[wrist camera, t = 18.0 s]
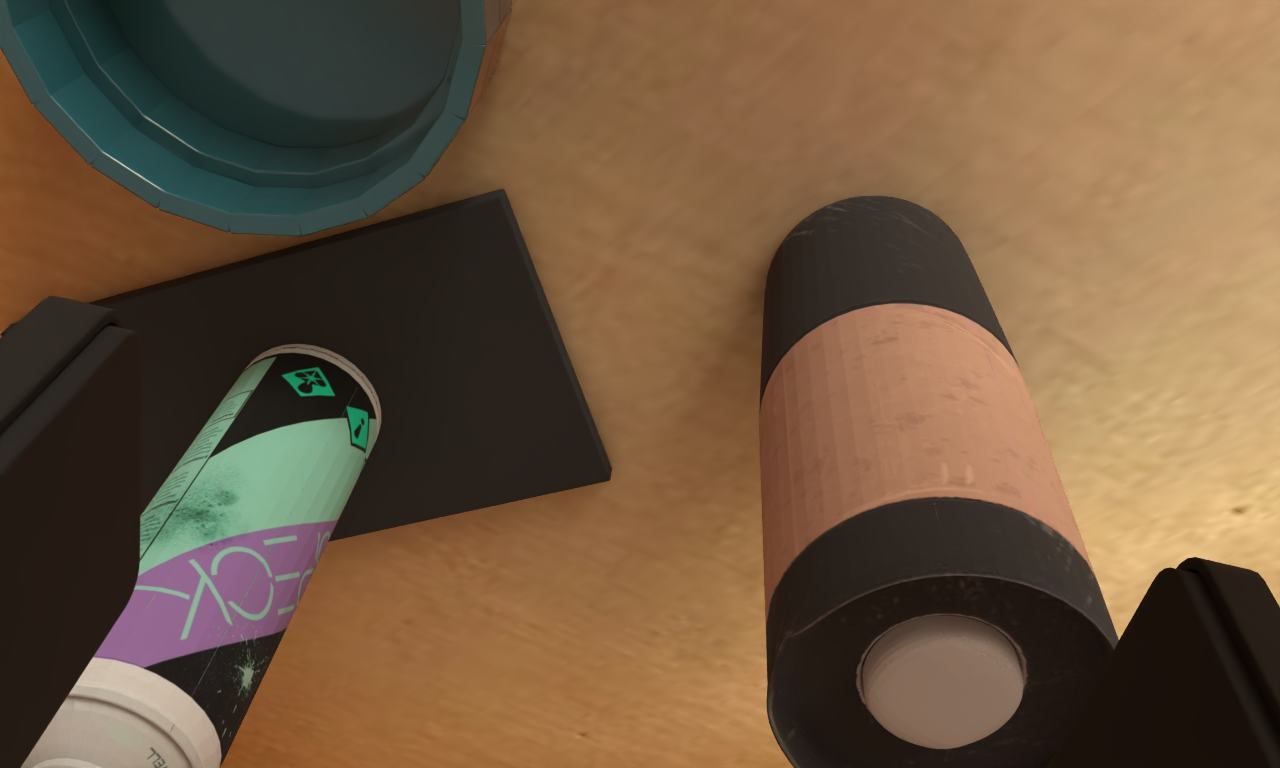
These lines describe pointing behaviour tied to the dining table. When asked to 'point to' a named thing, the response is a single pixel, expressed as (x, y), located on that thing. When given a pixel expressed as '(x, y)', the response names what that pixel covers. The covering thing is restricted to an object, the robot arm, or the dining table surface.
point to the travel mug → (911, 511)
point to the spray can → (221, 568)
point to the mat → (386, 359)
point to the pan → (257, 98)
